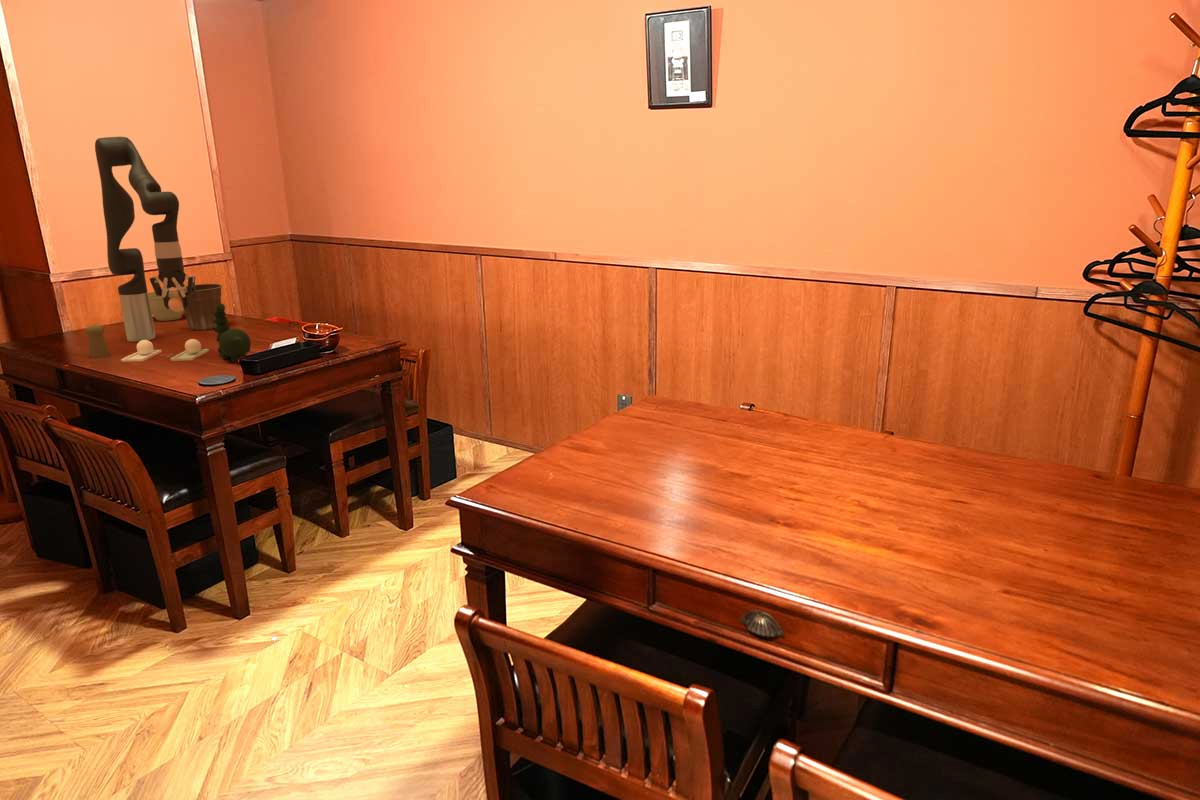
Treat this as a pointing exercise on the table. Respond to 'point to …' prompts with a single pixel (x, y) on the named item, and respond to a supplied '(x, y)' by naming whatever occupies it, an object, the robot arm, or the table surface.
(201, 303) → the plant pot
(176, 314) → the planter bowl
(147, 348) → the ball
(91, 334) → the olive green waisted cylinder
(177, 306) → the ball
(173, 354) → the card
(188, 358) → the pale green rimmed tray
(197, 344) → the ball
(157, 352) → the egg tray
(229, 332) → the toy figurine
